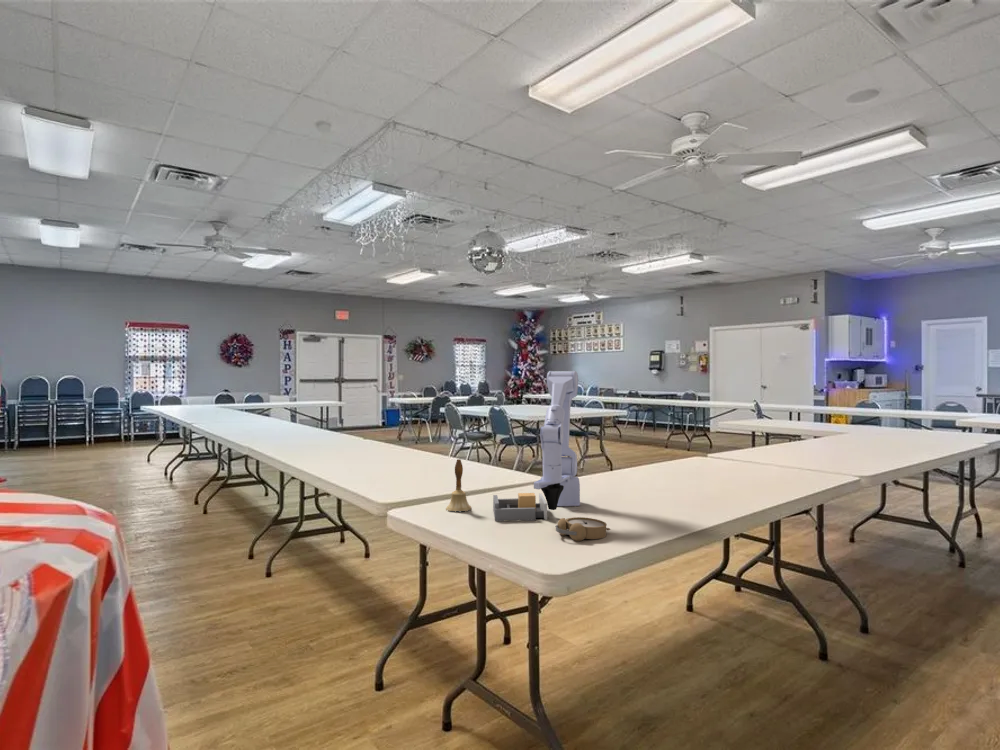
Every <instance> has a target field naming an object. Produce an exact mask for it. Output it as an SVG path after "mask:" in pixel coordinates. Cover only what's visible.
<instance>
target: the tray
mask: <svg viewBox="0 0 1000 750" xmlns="http://www.w3.org/2000/svg"><path fill="white" fill-rule="evenodd" d="M544 497H545V496H544V494H543V493H538V502H536V511H535V519H536V518H537V519H539V518H541V519H543V520H548V505H547V501H546V498H544ZM506 508H518V504H506Z"/></svg>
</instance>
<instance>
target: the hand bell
mask: <svg viewBox="0 0 1000 750" xmlns="http://www.w3.org/2000/svg"><path fill="white" fill-rule="evenodd" d="M454 465H455V466H454V475H455V478H456V479H455V483H456V486H455V490H454V491H452V492H451V498H450V500H449V501H450V502H449V503H448V505H447V506H446V508H445V510H446V511H447V510H448V511H447V512H450V511H455V512H454V513H457V512H456V511H465V512H469V511H471V510H473V508H472V506H471V504H469V502H468V500H467V493H466V492H465V491H464V490H462V477H463V471H464V468H463V463H462V459H460V458H459V459H458V458H457V459H456V462H455V464H454ZM468 510H469V511H468Z"/></svg>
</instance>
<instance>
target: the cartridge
mask: <svg viewBox="0 0 1000 750" xmlns="http://www.w3.org/2000/svg"><path fill="white" fill-rule="evenodd" d="M517 498H518V508H535V511H536V503H537V502H536V499H537V497H536V494H535V493H534V492H518V493H517Z"/></svg>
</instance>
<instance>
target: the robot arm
mask: <svg viewBox="0 0 1000 750" xmlns="http://www.w3.org/2000/svg"><path fill="white" fill-rule="evenodd" d="M546 386H547V391H548V393H549V394H550V397H551V401H550V405H549V406H547V408H546V410H545V411H546V412H545V417H544V423H543V426H541V427H540V431H539V437H540V438H539V440H540V446H541V447H540V449H541V450H542V477H540V479H539V480H536V481H533V489H535V490H541V492H542V494H543V496H544V497H545V498H544V499H545V501H546V503H547V510H551V511H555V510H557V507H577V506H578V507H579V506H581V484H580V478H579V477H578V476H576V475H577V474H578V473H577V472H578V460H577V459H578V458H577V457H578V456H577V454H576V451H574V450H573V449H572V448H570V429H571V428H570V427H571V426H570V425H571V424H570V423H571V405H572V400H573V399H574V398H577V397H578V392H579V391H578V390H579V389H578V388H579V375H578V372H577V371H576V370H572V371H571V370H568V371H567V370H564V371H562V370H560V371H559V370H557V371H555V370H554V371H553V370H549V371H548V372H547V373H546Z"/></svg>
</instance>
